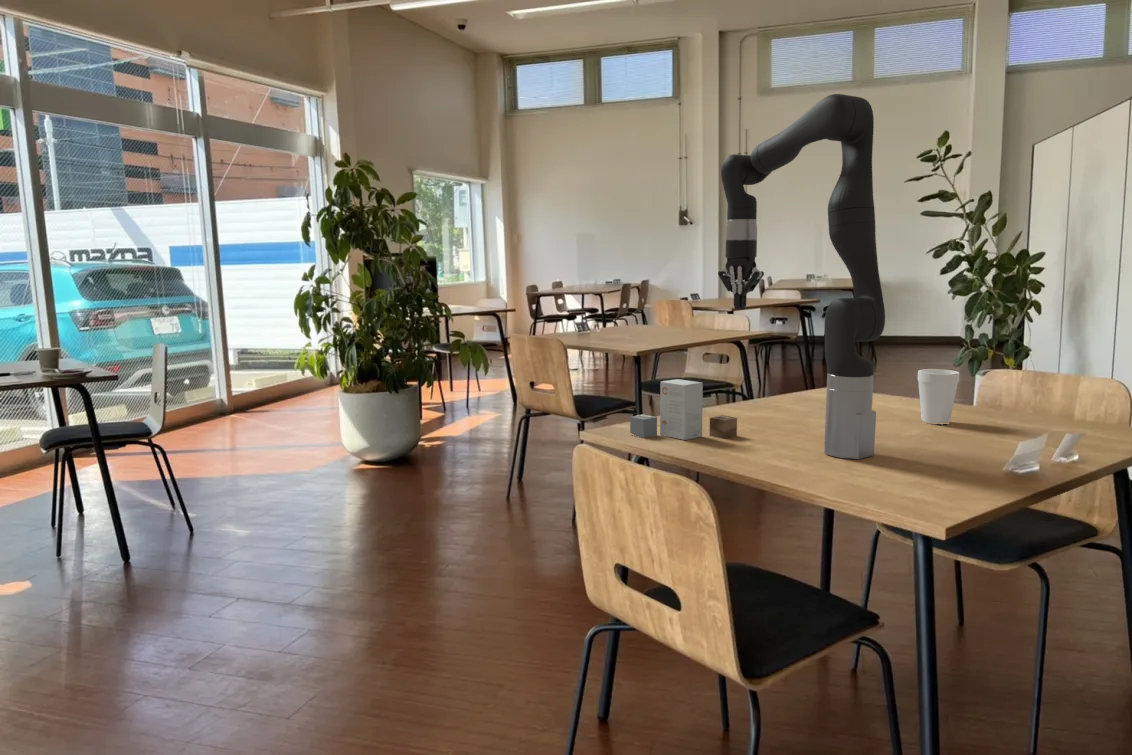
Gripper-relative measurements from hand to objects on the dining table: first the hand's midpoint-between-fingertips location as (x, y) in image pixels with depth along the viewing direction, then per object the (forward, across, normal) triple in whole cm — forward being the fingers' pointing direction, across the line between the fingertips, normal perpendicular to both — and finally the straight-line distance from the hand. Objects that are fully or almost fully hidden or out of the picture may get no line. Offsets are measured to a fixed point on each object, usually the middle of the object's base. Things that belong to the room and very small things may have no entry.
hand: (739, 309), depth 201 cm
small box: (+29, 0, +21) cm, 36 cm away
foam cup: (+29, -32, -38) cm, 58 cm away
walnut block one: (+29, -7, +14) cm, 33 cm away
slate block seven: (+29, +6, +27) cm, 40 cm away
